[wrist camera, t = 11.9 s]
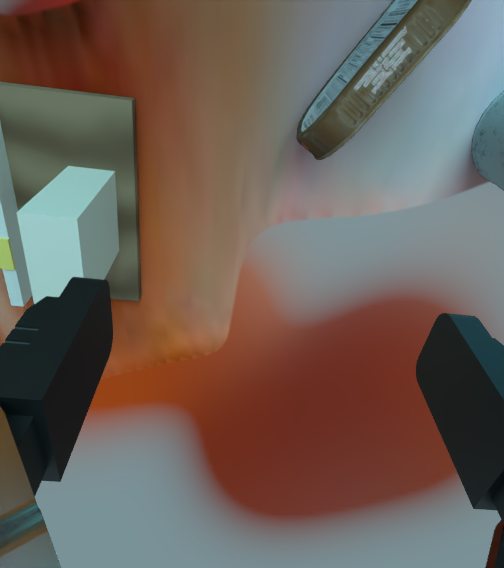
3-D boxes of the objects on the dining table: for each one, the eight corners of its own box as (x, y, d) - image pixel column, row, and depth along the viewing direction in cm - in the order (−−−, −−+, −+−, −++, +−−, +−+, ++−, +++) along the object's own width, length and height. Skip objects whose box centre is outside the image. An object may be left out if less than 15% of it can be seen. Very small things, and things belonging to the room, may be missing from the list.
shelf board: (-16, 79, 34) (-24, 82, 33) (135, 98, 35) (131, 100, 34) (27, 284, 45) (22, 291, 44) (141, 294, 46) (138, 301, 45)
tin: (311, 146, 38) (326, 178, 30) (284, 123, 36) (294, 150, 29) (451, -17, 31) (511, -24, 24) (423, -51, 30) (478, -68, 23)
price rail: (-24, 81, 33) (-44, 87, 31) (-7, 83, 33) (-26, 89, 31) (22, 291, 44) (10, 306, 42) (34, 292, 44) (22, 307, 42)
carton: (115, 171, 37) (76, 219, 29) (119, 250, 42) (87, 312, 33) (64, 165, 37) (11, 212, 29) (74, 245, 41) (30, 307, 33)
